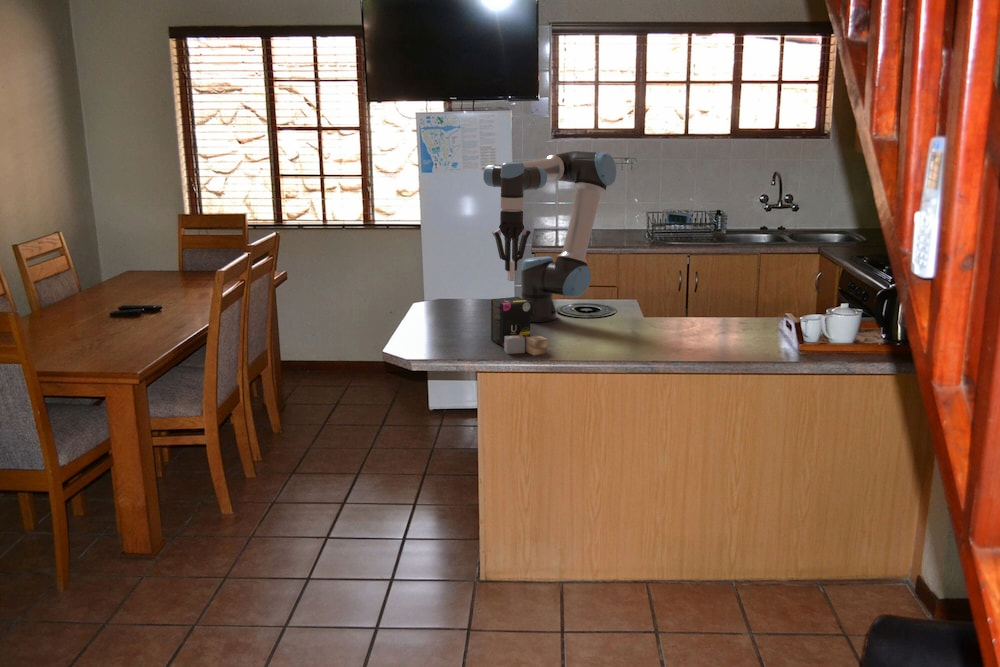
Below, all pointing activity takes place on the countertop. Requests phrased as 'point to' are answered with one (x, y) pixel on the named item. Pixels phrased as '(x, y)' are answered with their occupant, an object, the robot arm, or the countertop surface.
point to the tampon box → (510, 318)
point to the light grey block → (514, 344)
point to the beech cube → (536, 345)
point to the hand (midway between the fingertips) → (510, 280)
